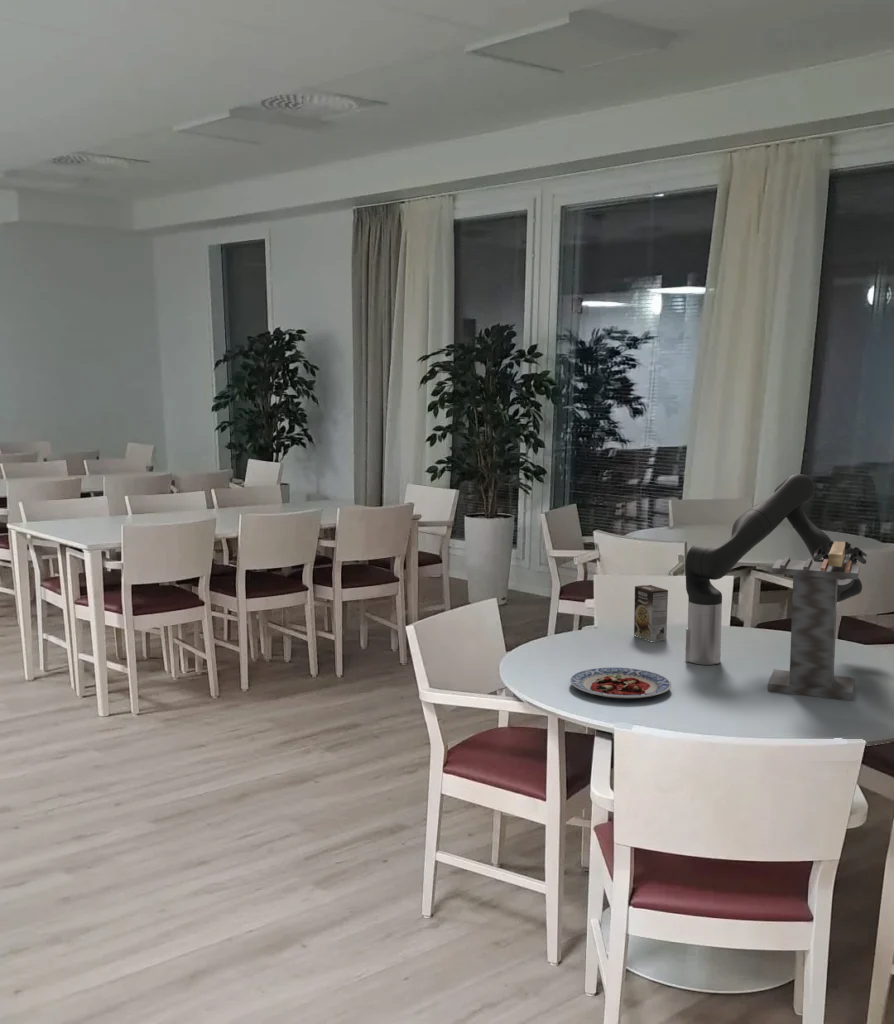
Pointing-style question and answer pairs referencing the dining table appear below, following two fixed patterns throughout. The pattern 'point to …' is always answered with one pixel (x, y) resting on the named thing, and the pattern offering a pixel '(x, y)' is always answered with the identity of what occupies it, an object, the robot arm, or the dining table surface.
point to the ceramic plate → (620, 682)
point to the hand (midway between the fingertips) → (839, 544)
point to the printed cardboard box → (650, 612)
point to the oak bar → (837, 554)
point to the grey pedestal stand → (813, 630)
